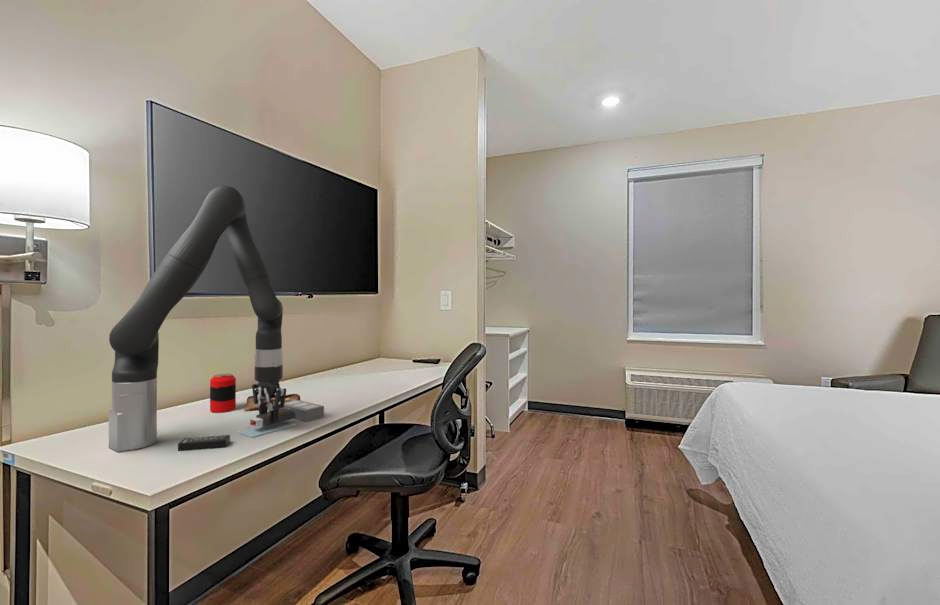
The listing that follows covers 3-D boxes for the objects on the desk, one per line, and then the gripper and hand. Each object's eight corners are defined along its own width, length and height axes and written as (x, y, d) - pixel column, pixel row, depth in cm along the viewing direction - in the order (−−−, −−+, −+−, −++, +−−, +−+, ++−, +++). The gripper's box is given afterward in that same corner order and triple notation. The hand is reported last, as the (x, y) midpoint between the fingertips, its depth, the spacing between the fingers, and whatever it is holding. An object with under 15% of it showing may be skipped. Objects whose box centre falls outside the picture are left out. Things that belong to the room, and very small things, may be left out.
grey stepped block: (297, 424, 128) (297, 410, 128) (265, 415, 137) (265, 402, 137) (323, 416, 136) (324, 403, 136) (292, 408, 145) (292, 396, 145)
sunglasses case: (242, 411, 140) (244, 392, 143) (245, 417, 146) (246, 398, 149) (299, 407, 146) (300, 389, 150) (300, 413, 152) (300, 395, 155)
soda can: (212, 414, 137) (213, 378, 137) (207, 409, 143) (207, 374, 142) (238, 410, 142) (238, 375, 142) (232, 405, 148) (232, 372, 148)
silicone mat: (252, 438, 115) (252, 436, 115) (238, 433, 119) (238, 431, 119) (296, 425, 127) (296, 423, 127) (282, 421, 131) (282, 419, 131)
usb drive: (295, 418, 128) (295, 409, 128) (258, 428, 118) (258, 418, 118) (285, 415, 131) (285, 406, 131) (247, 425, 121) (247, 415, 121)
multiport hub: (225, 448, 108) (225, 440, 108) (177, 452, 105) (177, 443, 105) (230, 443, 112) (230, 434, 112) (184, 446, 109) (184, 437, 109)
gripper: (242, 363, 124) (242, 419, 124) (271, 368, 116) (271, 428, 116) (266, 359, 130) (266, 413, 130) (295, 364, 122) (294, 421, 123)
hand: (268, 420), depth 123 cm, fingers closed on usb drive, 5 cm apart
